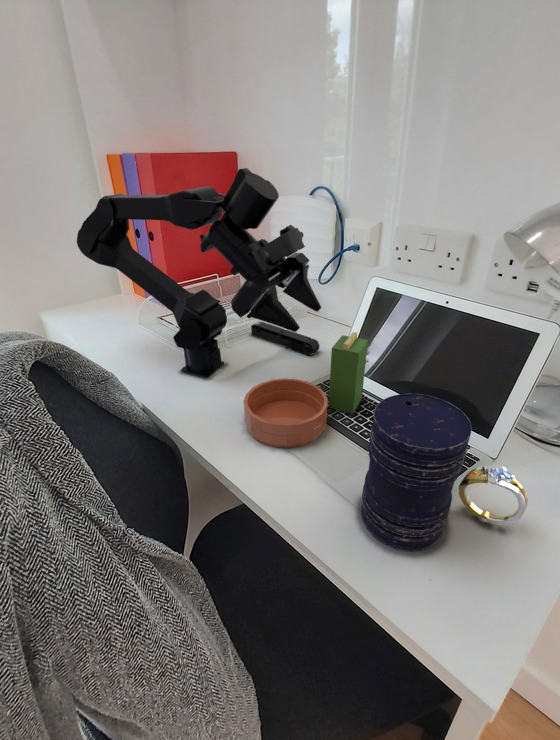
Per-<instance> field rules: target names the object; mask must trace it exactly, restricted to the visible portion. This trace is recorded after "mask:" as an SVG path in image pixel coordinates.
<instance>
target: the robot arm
mask: <svg viewBox="0 0 560 740" xmlns="http://www.w3.org/2000/svg"><path fill="white" fill-rule="evenodd" d="M279 197H280V195H279V192H278V190H277V188H276V187H275V185H274V184H272V182H271V181H269V180H268V179H267V180H266V179H265V178H263V177H262V176H260V175H258V174H257V173H254V172H252V171H251V170H250V169H249V168H248V167H244V168H239V169H238V170H237V172H236V174H235V176H234V179H233V182H232V184H231V186H229V189H228V190H227V192H226V193H219V192H217V190H216V188H214V187H213V186H208V185H207V186H201V187H196V188H191V189H185V190H181V191H177V192H173V193H169V194H124V193H115V194H109V195H104V196H102V197H101V198H100V199H98V200H97V201H98V202H97V203H96V206H95V209H94V210H93V211H92V212H91V213H90V214H89V215H88V216H87V217H86V219H84V220H83V222H82V224H81V227H80V229H79V230H78V231H77V235H76V236H77V237H76V245H77V248H78V249H79V251H80V253H81V254H82V255H83V256H85V258H87V259H89V260H91V261H93V262H94V263H96V264H98V265H101V266H105V267H110V268H112V269H116V270H118V271H119V272H120V273H122V274H123V275H124V276H125V277H126V278H128V279H129V280H130V281H132V282H133V283H134V284H135V285H137V286H138V287H140V288H141V289H142V290H143V291H144V292H146V293H147V294H148V295H150V296H151V297H153V298H154V299H155V300H156V301H158V302H159V303H160V304H161V305H163V306H164V307H165V308H167V309H168V310H169V311H170V312H171V313H172V314H173V316H174V319H175V322H176V325H177V326H178V327H179V328H180V329H178V331H177V332H176V333H175V334H174V335H173V340H174V343H175V345H176V347H177V348H180V349H183V355H184V362H185V366H183V367H182V368H181V369H180V371H181V372H182V373H184V374H189V375H193V376H197V377H200V378H205V379H208V378H210V377H211V376H213V375H214V374H215V373H216V372H217V371H218V370H220V369H221V368H222V367H223V366H224V365H225V361H223V360H222V357H221V356H222V355H221V348H220V347H219V342H218V339H215V338H218V337H219V336H221V335H222V333H223V329H225V327H226V326H227V323H228V315H227V310H226V309H225V307H224V306H223V305H222V304H220V303H221V300H219V299H217V298H215V297H213V296H212V295H211V294H210V293H209V292H208V290H205V289H201V290H198V291H197V292H194V293H193V292H190V291H188V290H187V289H185V288H184V287H183V286H182V285H181V284H179V283H178V282H176V281H175V280H174V279H173V278H171V277H170V276H169V275H167V273H165V272H164V271H162V270H161V269H160V268H159V267H157V266H156V265H155V264H154V263H152V262H150V260H148V259H146V258H145V257H144V256H143V255H141V254H140V253H139V252H138V251H136V250H135V249H134V248H133V246H132V243H131V240H130V237H129V235H127V234H128V232H129V230H130V222H129V220H136V221H137V220H140V221H143V220H144V221H165V222H168V223H170V224H172V225H173V226H175V227H179V228H182V229H187V230H198V229H200V228H203V227H206V226H209V225H211V226H210V227H209V229H208V231H207V232H204V233H202V234H200V235H199V239H200V246H199V247H200V252H201V253H206V252H208V251H211V250H213V249H215V250H216V252H217V253H218V254H219V255H220V256H221V257H222V258H224V260H225V261H227V263H228V264H229V265H230V266H231V267H232V268H231V269H230V270H229V272H230V273H231V274H232V275H233V276H236V275H238V274H239V275H240V276H241V277H242V278H243V279H244V280H245V281H244V283H243V284H242V285H241V287H240V288H239V290H238V291H237V292H236V293H235V295H234V296H233V298H232V299H231V300H230V305H231V310H232V311H233V312H234V313H235V314H236V315H237V316H238V317H239V318H240V319H241V318H243V317H244V316H246V318H248V319H251V318H253V319H256V320H258V321H261V322H264V323H268V324H271V325H273V326H276V327H279V328H282V329H285V330H289V331H292V332H295V333H297V332H298V331H299V330H300V325H299V323H298V322H297V321H296V319H295V318H294V317H293V316H292V314H290V312H289V311H288V310H287V308H285V306H284V305H283V304H282V303H281V301H280V300H279V296H278V291H277V290H278V289H277V287H278V288H280V289H283V290H282V292H283V293H284V294H285V295H287V296H289V297H291V298H292V299H294V300H296V301H297V302H298V303H301V304H302V305H304V306H306V307H307V308H309V309H310V310H312V311H314V312H317V313H318V312H319V311H320V310H321V309H322V305H321V304H320V301H319V299H318V298H317V296H316V294H315V292H314V290H313V288H312V286H311V283H310V281H309V278H308V277H309V276H308V274H309V269H310V264H309V263H310V259H309V258H308V257H307V256H306V255H305V254H304V253H303V252H299V251H300V250H302V249H305V248H306V246H305V244H304V242H303V238H304V232H302V231H300V230H299V228H298V227H295V226H293V224H289V225H287V226H286V227H284V228H283V229H280V230H279V236H278V237H276V238H274V239H272V240H271V241H267V239H264V238H261V239H259V240H257V239H256V237H254V236H253V235H252V234H251V232H249V230H250V229H252V230H257V229H258V228H259V227H260V226H261V224H262V223H263V222H264V220H265V219H266V217H267V216H268V214H269V213H270V211H271V210H272V209H273V206H274V205H275V204H276V202H277V200H278V199H279Z"/></svg>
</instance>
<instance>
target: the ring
mask: <svg viewBox="0 0 560 740" xmlns="http://www.w3.org/2000/svg"><path fill="white" fill-rule="evenodd" d="M480 474H481V475H480ZM472 484H473V485H474V484H491V485H495V486H498V487H501V488H504V489H506V490H508V491H510V492H511V493H512V494H513V495H514V496H515V498H516V500H517V504H518V507H517V509H516V511H514V512H513V513H512V514H510V515H507V516H498V515H497V516H496V515H493V514H491V513H490V512H489V511H488V510H485V509H483V510H482V509H480V508H479V507H477V505H475V503H474V502H473V501H472V500H471V499H470V497H469V495H468V491H467V487H468V486H470V485H472ZM458 495H459V498H460V500H461V502H462V504H463V505H464V507H465V508H466V509H467V510H468V511H469V512H470V513H471V514H473V515H474V516H475V517H477V518H478V520H479V521H480V522H483V523H488V524H492V525H496V526H509V525H513V524H515V523H517V522H519V521H520V520H521V519H522V517H523V516H524V514H525V512H526V510H527V507H528V501H529V500H528V496H527V493H526V490H525V488H524V487H523V486H522V484H521V483H520V482H519V481H518V480H517V479H516V478H515V475H513V474H512V473H511V471H510V470H509V469H508V468H506V467H504V466H501V465H496V464H495V465H482V466H479V467H475V468H473V469H471V470H469V472H468V473H467V474H466V475H465V476H464V477H463V479H462V480H461V482H460V483H459V485H458Z"/></svg>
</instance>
